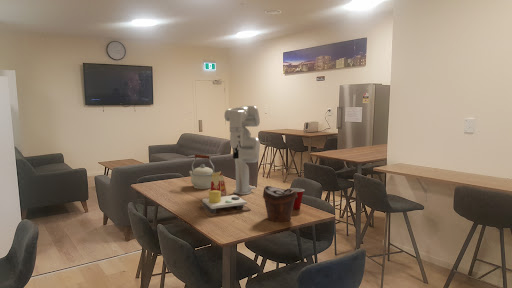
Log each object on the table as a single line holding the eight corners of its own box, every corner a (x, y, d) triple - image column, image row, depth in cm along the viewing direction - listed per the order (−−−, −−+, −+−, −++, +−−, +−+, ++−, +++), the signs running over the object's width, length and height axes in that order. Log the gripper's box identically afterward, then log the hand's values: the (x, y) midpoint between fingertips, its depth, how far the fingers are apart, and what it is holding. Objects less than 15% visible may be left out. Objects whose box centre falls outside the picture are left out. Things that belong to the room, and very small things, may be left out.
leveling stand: (237, 202, 234) (237, 196, 234) (250, 210, 216) (250, 204, 216) (198, 207, 223) (198, 201, 222) (209, 216, 205) (209, 210, 205)
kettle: (221, 186, 279) (221, 154, 276) (206, 191, 264) (205, 157, 261) (197, 182, 292) (196, 152, 290) (181, 186, 277) (180, 154, 274)
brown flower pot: (303, 221, 196) (303, 189, 194) (268, 225, 191) (268, 192, 189) (290, 212, 213) (290, 182, 211) (258, 215, 208) (258, 185, 206)
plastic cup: (307, 207, 224) (307, 188, 222) (300, 211, 215) (300, 191, 213) (291, 204, 229) (291, 186, 228) (283, 208, 220) (283, 189, 219)
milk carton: (227, 199, 241) (227, 170, 239) (220, 203, 233) (219, 172, 230) (215, 198, 245) (215, 169, 242) (208, 201, 237) (207, 171, 234)
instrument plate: (235, 197, 232) (235, 185, 231) (246, 204, 216) (246, 192, 215) (202, 201, 222) (202, 189, 222) (211, 209, 206) (211, 196, 205)
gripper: (245, 130, 223) (245, 159, 225) (236, 128, 236) (236, 156, 239) (234, 130, 220) (234, 160, 222) (225, 129, 233) (226, 157, 235)
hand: (235, 158), depth 230 cm, fingers closed
